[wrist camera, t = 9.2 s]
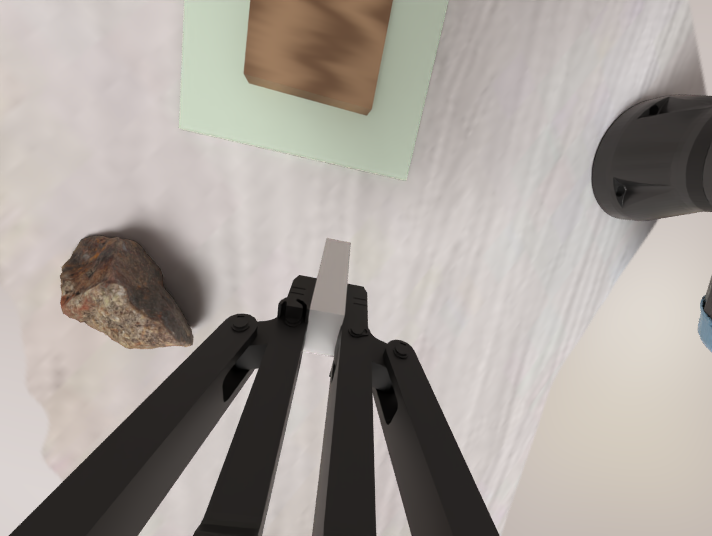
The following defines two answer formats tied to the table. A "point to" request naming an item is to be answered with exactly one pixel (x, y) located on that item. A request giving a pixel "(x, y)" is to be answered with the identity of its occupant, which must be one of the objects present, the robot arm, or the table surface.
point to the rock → (121, 295)
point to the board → (318, 49)
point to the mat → (302, 116)
